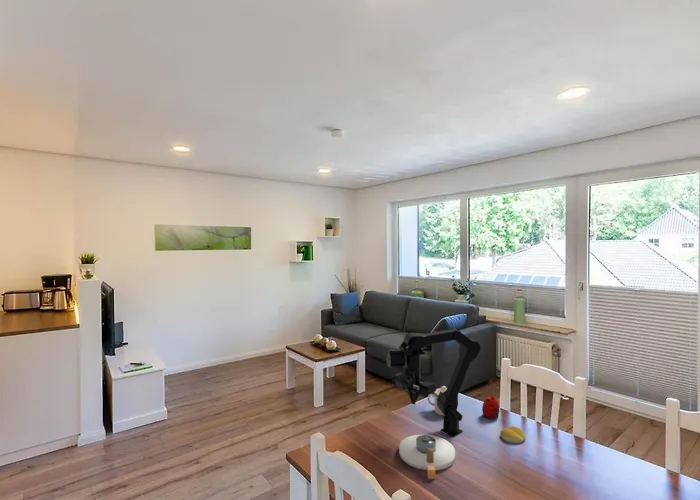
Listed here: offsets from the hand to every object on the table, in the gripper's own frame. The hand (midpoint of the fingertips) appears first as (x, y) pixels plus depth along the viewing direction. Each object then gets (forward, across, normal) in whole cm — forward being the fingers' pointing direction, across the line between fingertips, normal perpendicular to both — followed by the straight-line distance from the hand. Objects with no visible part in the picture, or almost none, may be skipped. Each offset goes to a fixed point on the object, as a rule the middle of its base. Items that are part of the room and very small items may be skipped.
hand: (413, 403), depth 150 cm
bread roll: (+13, +27, +28) cm, 41 cm away
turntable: (+13, +12, -7) cm, 19 cm away
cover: (+10, +12, -7) cm, 17 cm away
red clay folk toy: (+13, +12, +38) cm, 42 cm away
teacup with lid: (+13, -6, +26) cm, 30 cm away
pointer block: (+13, +21, -16) cm, 29 cm away
